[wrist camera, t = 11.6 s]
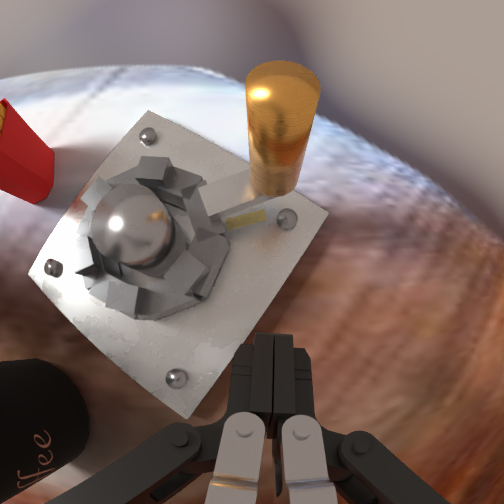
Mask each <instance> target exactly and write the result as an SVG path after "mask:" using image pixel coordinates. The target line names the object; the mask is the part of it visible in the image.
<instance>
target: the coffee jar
mask: <svg viewBox="0 0 504 504" xmlns="http://www.w3.org/2000/svg"><path fill="white" fill-rule="evenodd" d="M88 435H89V428H88V415H87V411H86V408H85V404H84V401H83V399H82V397H81V395H80V394H79V392H78V390H77V388H76V387H75V385H74V384H73V383H72V382H71V381H70V379H69V378H68V377H67V376H66V375H65V374H64V373H63V372H62V371H60V370H59V369H58V368H56V367H55V366H54V365H52V364H51V363H49V362H46V361H43V360H40V359H26V360H15V361H2V362H0V504H1V503H3V502H4V501H6V500H8V499H10V498H12V497H13V496H15V495H17V494H19V493H20V492H22V491H24V490H25V489H27V488H29V487H30V486H32V485H34V484H35V483H37V482H39V481H40V480H42V479H44V478H45V477H47V476H48V475H50V474H52V473H53V472H55V471H56V470H58V469H60V468H61V467H63V466H64V465H66V464H67V463H69V462H71V461H72V460H74V459H75V458H77V457H78V456H79V454H80V453H81V452H82V451H83V450H84V449H85V445H86V442H87V438H88Z"/></svg>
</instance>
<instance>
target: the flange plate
mask: <svg viewBox="0 0 504 504" xmlns="http://www.w3.org/2000/svg"><path fill="white" fill-rule="evenodd" d="M141 156H154V157H169V159H170V161H171V163H172V165H173V166H174V167H177V168H180V169H183V170H186V171H188V172H191V173H194V174H197V175H200V176H202V178H203V180H206V182H207V184H210V183H212V182H215V181H217V180H220V179H223V178H225V177H228V176H231V175H233V174H236V173H239V172H242V171H244V170H247V169H250V164H248V163H247V162H245V161H243V160H241V159H240V158H238V157H236V156H234V155H233V154H231V153H229V152H227V151H225V150H224V149H222V148H220V147H218V146H216V145H215V144H213V143H211V142H209V141H207V140H205V139H203V138H202V137H200V136H198V135H196V134H194V133H192V132H190V131H188V130H186V129H185V128H183V127H181V126H179V125H177V124H175V123H173V122H171V121H169V120H167V119H165V118H163V117H161V116H159V115H157V114H155V113H153V112H151V111H149V110H148V111H147V112H146V113H145V114H144V115H143V116H142V117H141V118H140V120H139V121H138V122H137V123H136V124H135V125H134V126H133V127H132V128H131V129H130V131H129V132H128V133H127V134H126V135H125V136H124V137H123V139H122V140H121V141H120V142H119V143H118V144H117V146H116V147H115V148H114V149H113V150H112V152H111V153H110V154H109V155H108V156H107V158H106V159H105V160H104V161H103V163H102V164H101V165H100V166H99V168H98V169H97V170H96V171H95V173H94V174H93V175H92V177H91V178H90V179H89V181H88V182H87V183H86V185H85V186H84V187H83V189H82V190H81V191H80V193H79V194H78V195H77V197H76V198H75V200H74V201H73V203H72V204H71V205H70V207H69V208H68V210H67V211H66V213H65V214H64V216H63V217H62V219H61V220H60V222H59V223H58V225H57V226H56V228H55V229H54V231H53V232H52V234H51V236H50V237H49V239H48V240H47V242H46V244H45V245H44V247H43V249H42V250H41V252H40V254H39V255H38V257H37V259H36V261H35V262H34V264H33V266H32V268H31V269H30V271H29V273H28V274H29V276H30V277H31V278H32V279H33V281H34V282H35V283H36V284H37V285H38V286H39V288H40V289H41V290H42V291H43V292H44V293H45V294H46V296H47V297H48V298H49V299H50V300H51V301H52V302H53V303H54V304H55V306H56V307H57V308H58V309H59V310H60V311H61V312H62V313H63V314H64V315H65V316H66V317H67V318H68V319H69V320H70V321H71V322H72V323H73V325H74V326H75V327H76V328H77V329H78V330H79V331H80V332H81V333H83V334H84V335H85V336H86V337H87V338H88V339H89V340H90V341H91V342H92V343H93V344H94V345H95V346H96V347H97V348H98V349H99V350H100V351H101V352H103V353H104V354H105V355H106V356H107V357H108V358H109V359H110V360H111V361H113V362H114V363H115V364H116V365H117V366H118V367H119V368H121V369H122V370H123V371H124V372H125V373H126V374H128V375H129V376H130V377H131V378H132V379H134V380H135V381H136V382H137V383H138V384H140V385H141V386H142V387H143V388H145V389H146V390H147V391H148V392H150V393H151V394H152V395H154V396H155V397H156V398H158V399H159V400H160V401H162V402H163V403H164V404H166V405H167V406H168V407H170V408H171V409H172V410H174V411H175V412H176V413H178V414H179V415H181V416H182V417H184V418H185V419H186V420H187V419H188V418H189V417H190V415H191V414H192V413H193V411H194V410H195V409H196V407H197V406H198V405H199V403H200V402H201V400H202V399H203V398H204V396H205V395H206V394H207V392H208V391H209V390H210V388H211V387H212V386H213V384H214V383H215V381H216V380H217V379H218V377H219V376H220V375H221V373H222V372H223V370H224V369H225V368H226V366H227V365H228V363H229V362H230V361H231V359H232V358H233V356H234V353H235V352H236V350H237V349H238V347H239V346H240V344H243V342H244V341H245V339H246V338H247V336H248V335H249V334H250V332H251V331H252V329H253V328H254V326H255V325H256V324H257V322H258V321H259V319H260V318H261V316H262V315H263V313H264V312H265V310H266V309H267V307H268V306H269V305H270V303H271V302H272V300H273V299H274V297H275V296H276V294H277V293H278V291H279V290H280V288H281V287H282V285H283V284H284V282H285V281H286V279H287V278H288V276H289V275H290V273H291V272H292V270H293V269H294V267H295V266H296V264H297V262H298V261H299V259H300V258H301V256H302V255H303V253H304V252H305V250H306V249H307V247H308V246H309V244H310V242H311V241H312V239H313V238H314V236H315V235H316V233H317V231H318V230H319V228H320V227H321V225H322V224H323V222H324V220H325V219H326V217H327V216H328V214H329V213H328V212H327V211H325V210H324V209H322V208H321V207H319V206H318V205H316V204H314V203H313V202H311V201H310V200H308V199H307V198H305V197H303V196H302V195H300V194H299V193H297V192H295V191H294V190H292V192H290V193H288V194H286V195H284V196H280V197H276V198H273V199H270V200H268V201H265V202H262V203H260V204H257V205H254V206H252V207H249V208H246V209H244V210H241V211H239V212H236V213H233V214H231V215H228V216H226V217H223V218H221V221H222V223H223V226H224V228H225V231H226V234H227V236H228V239H229V242H230V243H228V245H229V250H228V252H227V254H226V256H225V259H224V261H223V263H222V265H221V268H220V270H219V272H218V274H217V276H216V279H215V281H214V283H213V285H212V288H211V290H210V292H209V294H208V297H207V298H205V297H203V296H201V298H202V301H203V302H201V303H199V304H196V305H193V306H191V307H188V308H186V309H183V310H180V311H178V312H175V313H172V314H170V315H167V316H164V317H162V318H159V319H156V320H154V321H152V320H134V319H132V318H130V317H128V316H126V315H125V314H123V313H121V312H119V311H118V310H114V309H110V308H106V307H105V303H104V302H102V301H100V300H99V299H97V298H95V297H94V296H92V295H90V294H89V291H90V290H87V289H85V285H84V281H83V277H82V275H78V274H75V273H74V272H73V268H72V263H71V258H70V253H69V248H68V245H69V244H71V243H73V242H75V239H74V238H75V237H77V236H79V235H78V234H76V233H75V232H76V230H77V228H78V226H79V224H80V222H81V220H82V217H83V215H84V213H85V212H86V210H87V208H88V206H87V205H86V204H85V203H84V202H83V201H82V200H81V199H80V198H81V197H82V196H83V195H84V193H85V192H86V191H87V190H88V188H89V187H90V186H91V185H92V184H93V182H94V181H95V180H96V179H97V178H98V176H100V177H101V178H102V179H103V180H104V181H106V180H108V179H110V178H112V177H114V176H116V175H118V174H120V173H122V172H125V171H127V170H129V169H131V168H133V167H136V166H138V164H139V161H140V158H141ZM91 235H92V239H93V242H94V244H95V246H96V248H97V249H98V251H99V252H100V253H101V254H103V255H104V256H105V257H107V258H109V259H112V260H114V261H116V262H117V263H118V266H119V270H120V274H121V277H122V278H123V279H125V280H127V281H129V282H130V283H132V284H134V285H136V286H139V287H142V288H143V287H146V286H148V285H151V284H153V283H156V282H158V281H161V280H163V279H165V278H164V277H163V276H164V275H165V274H166V272H167V271H168V270H169V269H170V267H171V266H172V265H173V264H174V262H175V261H176V260H177V259H178V258H179V256H180V255H181V254H182V253H183V251H184V250H186V251H188V248H189V246H190V244H191V242H192V240H193V238H194V236H195V232H194V230H193V227H192V224H191V221H190V218H189V215H188V212H187V210H186V209H184V208H181V207H179V206H176V205H174V204H171V203H169V202H166V201H164V200H161V199H158V197H157V196H156V195H155V194H154V193H153V192H152V191H151V190H150V189H149V188H147V187H145V186H143V185H139V184H125V185H121V186H118V187H116V188H114V189H113V190H111V191H110V192H108V193H107V194H106V195H105V196H104V197H103V198H102V199H101V200H100V202H99V203H98V205H97V207H96V209H95V211H94V213H93V216H92V221H91Z"/></svg>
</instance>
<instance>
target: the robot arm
mask: <svg viewBox="0 0 504 504" xmlns="http://www.w3.org/2000/svg"><path fill="white" fill-rule="evenodd" d="M266 432H267V437H266V439H273V440H272V463H273V482H274V503H273V504H338V502H337V495H336V491H337V492H338V493H339V494H340V495H341V496H342V497H343V498H344V499H345V500H346V501H347V502H348V503H349V504H450V503H449V502H448V501H447V500H446V499H444V498H443V497H442V496H441V495H440V494H438V493H437V492H436V491H435V490H434V489H432V488H431V487H430V486H429V485H428V484H427V483H425V482H424V481H423V480H422V479H421V478H420V477H418V476H417V475H416V474H415V473H414V472H413V471H412V470H410V469H409V468H408V467H407V466H406V465H405V464H404V463H402V462H401V461H400V460H399V459H398V458H397V457H396V456H395V455H394V454H392V453H391V452H390V451H389V450H388V449H387V448H386V447H385V446H384V445H383V444H381V443H380V442H379V441H378V440H377V439H376V438H375V437H374V436H373V435H371V434H370V433H368V432H365V431H354V432H351V433H350V434H348V435H343V434H339V433H335V432H332V431H329V430H327V429H325V428H324V427H322V426H321V425H320V424H319V423H318V421H317V419H316V417H315V413H314V399H313V385H312V372H311V360H310V357H309V355H308V354H307V352H306V350H305V348H293V335H290V334H275V333H274V337H273V333H263V332H255V337H254V345H248V344H240V346H239V347H238V349H237V350H236V352H235V353H234V359H233V367H232V375H231V382H230V390H229V398H228V406H227V411H226V413H225V415H224V416H223V417H222V418H221V419H220V420H219V421H217V422H216V423H213V424H210V425H205V426H199V427H192V426H191V425H189V424H186V423H173V424H170V425H168V426H167V427H165V428H164V429H162V430H161V431H160V432H158V433H157V434H155V435H154V436H153V437H151V438H150V439H148V440H147V441H145V442H144V443H143V444H141V445H140V446H138V447H137V448H135V449H134V450H132V451H131V452H129V453H128V454H126V455H125V456H123V457H122V458H120V459H119V460H117V461H116V462H114V463H112V464H111V465H109V466H108V467H106V468H105V469H103V470H101V471H100V472H98V473H97V474H95V475H93V476H92V477H90V478H88V479H87V480H85V481H83V482H82V483H80V484H78V485H77V486H75V487H73V488H72V489H70V490H68V491H66V492H65V493H63V494H61V495H59V496H57V497H56V498H54V499H52V500H50V501H48V502H46V503H45V504H163V503H164V502H166V501H167V500H168V499H170V498H171V497H173V496H174V495H175V494H177V493H178V492H179V491H181V490H182V489H183V488H185V487H186V486H187V485H188V484H190V483H191V482H192V481H194V480H195V479H196V478H197V477H199V476H200V475H201V474H202V473H206V472H212V471H214V473H213V476H212V478H211V480H210V483H209V487H208V491H207V496H206V500H205V504H255V503H256V497H257V490H258V478H259V471H260V464H261V457H262V450H263V443H264V438H265V435H266Z"/></svg>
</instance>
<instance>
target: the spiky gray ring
mask: <svg viewBox="0 0 504 504" xmlns="http://www.w3.org/2000/svg"><path fill="white" fill-rule="evenodd" d="M245 89H246V105H247V121H248V138H249V154H250V169H247V170H244V171H242V172H239V173H236V174H233V175H231V176H228V177H225V178H223V179H220V180H217V181H215V182H212V183H210V184H207V182H206V180H203V178H202V176H200V175H197V174H194V173H191V172H188V171H186V170H183V169H180V168H177V167H174V166H173V165H172V163H171V161H170V159H169V157H154V156H141V158H140V161H139V164H138V166H136V167H133V168H131V169H129V170H127V171H125V172H122V173H120V174H118V175H116V176H114V177H112V178H110V179H108V180H106V181H104V180H103V179H102V178H101V177H100V176H98V178H97V179H96V180H95V181H94V182H93V184H92V185H91V186H90V187H89V188H88V190H87V191H86V192H85V193H84V195H83V196H82V197H81V198H80V199H81V200H82V201H83V202H84V203H85V204H86V205H87V206H88V208H87V210H86V212H85V213H84V215H83V217H82V220H81V222H80V224H79V226H78V228H77V230H76V232H75V233H76V234H78V235H79V236H77V237H75V238H74V239H75V242H73V243H71V244H69V245H68V248H69V253H70V258H71V263H72V268H73V272H74V273H75V274H78V275H82V277H83V281H84V285H85V289H87V290H90V291H89V294H90V295H92V296H94V297H95V298H97V299H99V300H100V301H102V302H104V303H105V307H106V308H110V309H114V310H118V311H119V312H121V313H123V314H125V315H126V316H128V317H130V318H132V319H134V320H152V321H154V320H156V319H159V318H162V317H164V316H167V315H170V314H172V313H175V312H178V311H180V310H183V309H186V308H188V307H191V306H193V305H196V304H199V303H201V302H203V301H202V298H201V296H203V297H205V298H207V297H208V294H209V292H210V290H211V288H212V285H213V283H214V281H215V279H216V276H217V274H218V272H219V270H220V268H221V265H222V263H223V261H224V259H225V256H226V254H227V252H228V250H229V245H228V243H230V242H229V239H228V236H227V234H226V231H225V228H224V226H223V223H222V221H221V218H223V217H226V216H228V215H231V214H233V213H236V212H239V211H241V210H244V209H246V208H249V207H252V206H254V205H257V204H260V203H262V202H265V201H268V200H270V199H273V198H276V197H280V196H284V195H286V194H288V193H290V192H292V190H293V189H294V188H295V186H296V185H297V182H298V178H299V174H300V171H301V167H302V163H303V159H304V155H305V151H306V147H307V143H308V139H309V135H310V132H311V128H312V124H313V119H314V115H315V111H316V107H317V103H318V99H319V95H320V83H319V81H318V79H317V77H316V76H315V75H314V74H313V73H312V72H311V71H310V70H309V69H307V68H306V67H304V66H302V65H299V64H297V63H293V62H289V61H271V62H266V63H263V64H261V65H259V66H257V67H255V68H254V69H253V70H252V71H251V72H250V73H249V74H248V76H247V78H246V82H245ZM125 184H139V185H143V186H145V187H147V188H149V189H150V190H151V191H152V192H153V193H154V194H155V195H156V196H157V197H158V199H161V200H164V201H166V202H169V203H171V204H174V205H176V206H179V207H181V208H184V209H186V210H187V212H188V215H189V218H190V221H191V224H192V227H193V230H194V232H195V236H194V238H193V240H192V242H191V244H190V246H189V248H188V251H186V250H184V251H183V253H182V254H181V255H180V256H179V258H178V259H177V260H176V261H175V262H174V264H173V265H172V266H171V267H170V269H169V270H168V271H167V272H166V274H165V275H164V276H163V277H164V278H165V279H163V280H161V281H158V282H156V283H153V284H151V285H148V286H146V287H143V288H142V287H139V286H136V285H134V284H132V283H130V282H129V281H127V280H125V279H123V278H122V277H121V274H120V270H119V266H118V263H117V262H116V261H114V260H112V259H109V258H107V257H105V256H104V255H103V254H101V253H100V252H99V251H98V249H97V248H96V246H95V244H94V242H93V239H92V235H91V221H92V216H93V213H94V211H95V209H96V207H97V205H98V203H99V202H100V200H101V199H102V198H103V197H104V196H105V195H106V194H107V193H108V192H110V191H111V190H113V189H114V188H116V187H118V186H121V185H125Z"/></svg>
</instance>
